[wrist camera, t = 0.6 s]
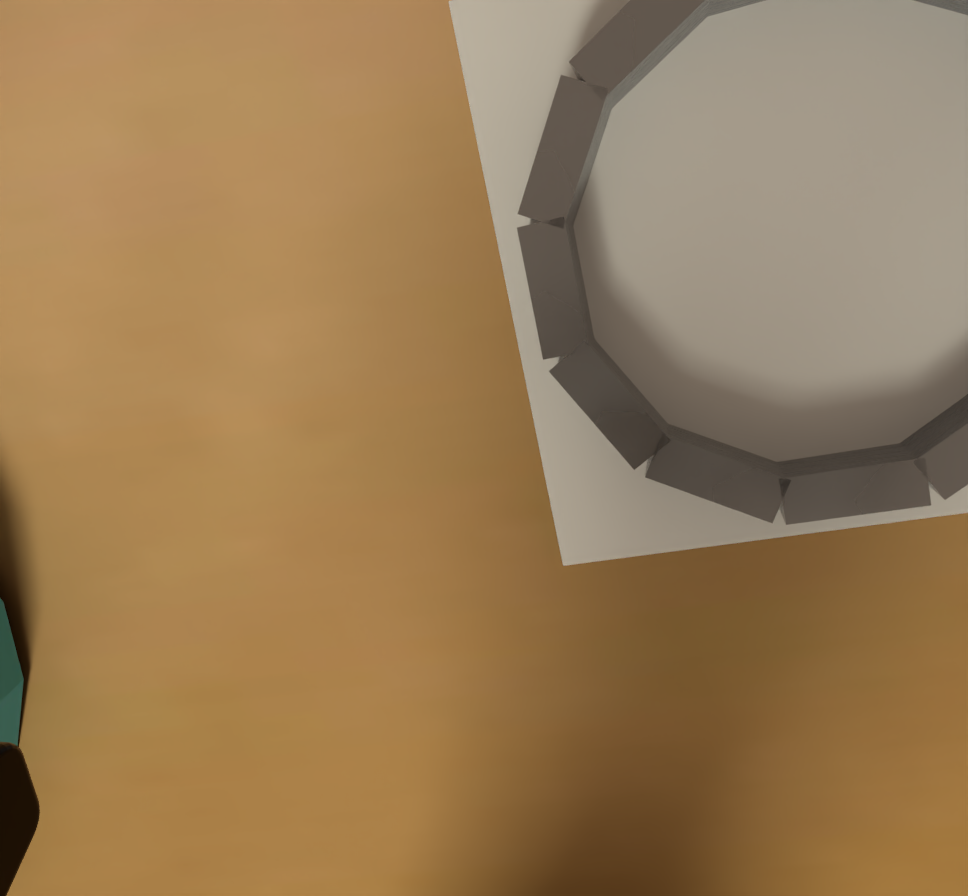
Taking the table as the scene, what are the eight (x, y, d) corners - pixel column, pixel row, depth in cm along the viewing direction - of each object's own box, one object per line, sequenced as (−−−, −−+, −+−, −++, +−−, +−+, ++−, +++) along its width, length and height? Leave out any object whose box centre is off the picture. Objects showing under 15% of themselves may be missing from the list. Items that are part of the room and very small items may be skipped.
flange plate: (1159, 472, 18) (1231, 503, 16) (567, 552, 22) (554, 588, 19) (1105, -182, 16) (1179, -259, 14) (459, 14, 20) (429, -21, 17)
